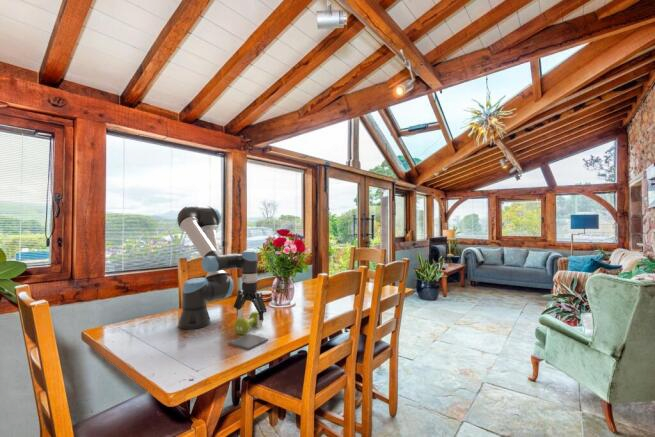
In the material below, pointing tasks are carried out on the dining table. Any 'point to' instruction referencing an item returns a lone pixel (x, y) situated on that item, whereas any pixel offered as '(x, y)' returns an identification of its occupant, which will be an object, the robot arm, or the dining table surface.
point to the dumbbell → (246, 324)
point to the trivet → (248, 341)
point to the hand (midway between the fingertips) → (249, 324)
